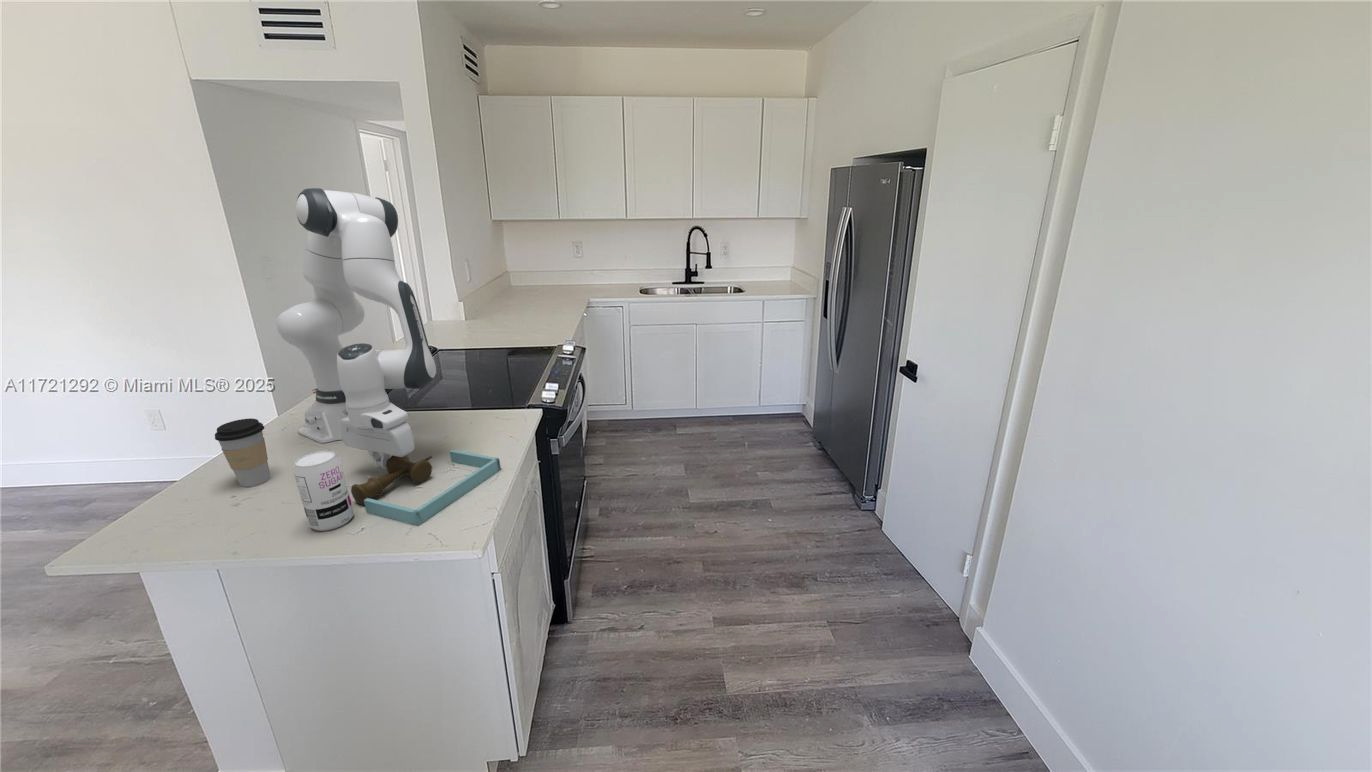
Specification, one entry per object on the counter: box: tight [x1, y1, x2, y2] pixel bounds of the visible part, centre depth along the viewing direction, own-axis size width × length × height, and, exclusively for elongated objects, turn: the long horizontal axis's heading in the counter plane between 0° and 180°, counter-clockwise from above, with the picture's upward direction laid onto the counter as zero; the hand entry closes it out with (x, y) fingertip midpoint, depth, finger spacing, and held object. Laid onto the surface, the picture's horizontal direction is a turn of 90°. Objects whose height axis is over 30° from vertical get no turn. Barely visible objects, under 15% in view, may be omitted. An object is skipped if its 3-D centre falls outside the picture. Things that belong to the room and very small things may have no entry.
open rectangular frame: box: [364, 449, 502, 526], centre depth 129 cm, size 15×26×3 cm, turn 158°
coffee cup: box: [214, 418, 271, 488], centre depth 133 cm, size 9×9×15 cm
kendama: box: [350, 454, 433, 506], centre depth 131 cm, size 6×10×20 cm
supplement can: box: [292, 450, 355, 532], centre depth 115 cm, size 8×8×15 cm
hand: (383, 466), depth 134 cm, fingers closed
